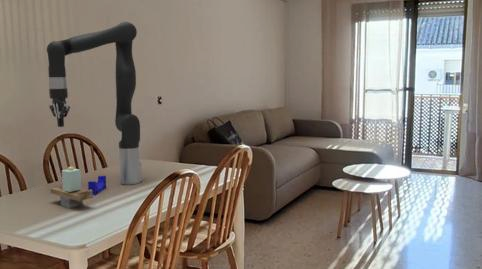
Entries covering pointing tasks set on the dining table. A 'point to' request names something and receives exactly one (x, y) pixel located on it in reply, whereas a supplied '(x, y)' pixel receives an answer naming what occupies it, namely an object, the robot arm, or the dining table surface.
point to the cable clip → (97, 185)
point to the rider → (71, 179)
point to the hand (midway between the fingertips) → (60, 126)
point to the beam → (71, 196)
